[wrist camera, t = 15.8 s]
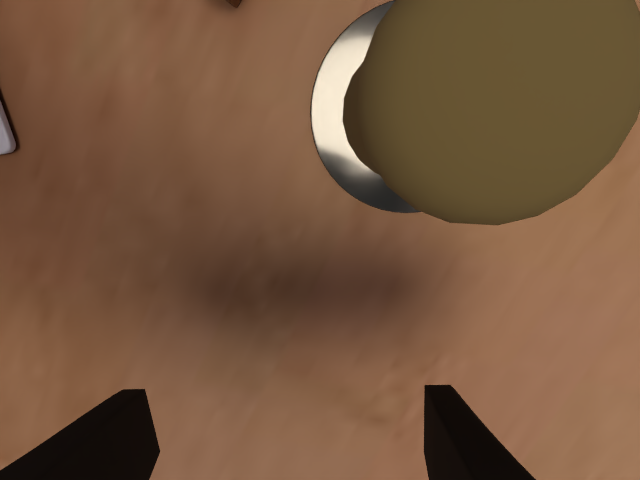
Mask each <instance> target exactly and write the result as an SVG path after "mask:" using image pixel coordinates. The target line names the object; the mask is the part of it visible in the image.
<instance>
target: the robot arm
mask: <svg viewBox="0 0 640 480" xmlns="http://www.w3.org/2000/svg"><path fill="white" fill-rule="evenodd" d="M15 147H16V143H15V139H14V137H13V134H12V131H11V128H10V126H9V123H8V120H7V117H6V115H5V112H4V109H3V106H2V104H1V101H0V154H7V153H11V152H13V151H14V150H15ZM159 453H160V449H159V445H158V441H157V437H156V432H155V428H154V424H153V420H152V416H151V412H150V408H149V404H148V400H147V396H146V392H145V389H124V390H121V391H120V392H118V393H116V394H115V395H113V396H111V397H110V398H108V399H107V400H105V401H104V402H102V403H101V404H99V405H98V406H96V407H95V408H93V409H92V410H90V411H89V412H87V413H86V414H84V415H83V416H81V417H80V418H78V419H77V420H76V421H74V422H73V423H71V424H70V425H68V426H67V427H65V428H64V429H62V430H61V431H59V432H58V433H56V434H55V435H53V436H52V437H51V438H49V439H48V440H46V441H45V442H43V443H42V444H40V445H39V446H37V447H36V448H34V449H33V450H31V451H30V452H28V453H27V454H25V455H24V456H22V457H21V458H19V459H17V460H16V461H14V462H13V463H11V464H10V465H8V466H7V467H5V468H3V469H2V470H0V480H149V478H150V476H151V474H152V471H153V468H154V466H155V463H156V461H157V458H158V456H159ZM424 455H425V460H426V466H427V471H428V477H429V480H536V479H535V478H534V477H533V476H532V475H531V474H530V473H529V472H528V471H527V470H526V469H525V468H524V467H523V466H522V465H521V464H520V463H519V462H518V461H517V460H516V459H515V458H514V457H513V456H512V455H511V453H510V452H509V451H508V450H507V449H506V448H505V447H504V446H503V445H502V444H501V443H500V442H499V441H498V439H497V438H496V437H495V436H494V435H493V434H492V433H491V432H490V431H489V429H488V428H487V427H486V426H485V425H484V424H483V423H482V421H481V420H480V419H479V418H478V417H477V416H476V414H475V413H474V412H473V411H472V410H471V409H470V407H469V406H468V405H467V404H466V402H465V401H464V400H463V399H462V398H461V396H460V395H459V394H458V393H457V391H456V390H455V389H454V388H453V387H452V386H451V385H425V399H424Z"/></svg>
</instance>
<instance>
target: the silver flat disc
mask: <svg viewBox="0 0 640 480" xmlns="http://www.w3.org/2000/svg"><path fill="white" fill-rule="evenodd" d="M395 1H396V0H393V1H389V2H387V3H384V4H382V5H380V6H377V7H375V8H373V9H372V10H370V11H368V12H366V13H365V14H363V15H362V16H360V17H359V18H358V19H356V20H355V21H354V22H353V23H351V24H350V25H349V26H348V27H347V28H346V29H345V30H344V31H343V32H342V33H341V34H340V35H339V37H338V38H337V39H336V40H335V42H334V43H333V44H332V46H331V47H330V49H329V50H328V52H327V54H326V56H325V57H324V59H323V61H322V63H321V66H320V68H319V70H318V73H317V76H316V79H315V83H314V86H313V91H312V97H311V111H310V117H311V129H312V133H313V138H314V142H315V145H316V148H317V151H318V154H319V156H320V158H321V160H322V162H323V164H324V166H325V167H326V169H327V170H328V172H329V173H330V175H331V176H332V177H333V179H334V180H335V181H336V182H337V183H338V184H339V185H340V186H341V187H342V188H343V189H344V190H345V191H347V192H348V193H349V194H350V195H352V196H353V197H355V198H356V199H358V200H359V201H361V202H363V203H365V204H367V205H370V206H372V207H375V208H378V209H381V210H386V211H391V212H399V213H415V212H421V211H418V210H416V209H414V208H413V207H412V206H411V205H409V204H408V203H407V202H406V201H405V200H403V199H402V198H401V197H400V196H399V195H397V194H396V193H395V192H394V191H392V190H391V189H390V188H389V187H388V186H387V185H386V184H385V182H384V181H383V179H382V177H381V176H380V175H379V174H376V173H374V172H373V171H372V170H371V169H369V168H368V167H367V166H366V165H364V164H363V163H362V162H361V161H360V160H359V159H358V158H357V156H356V154H355V153H354V151H353V150H352V148H351V146H350V145H349V143H348V141H347V137H346V133H345V129H344V125H343V103H344V96H345V94H346V91H347V88H348V86H349V83H350V80H351V77H352V76H353V74H354V73H355V72H356V70H357V69H358V68H359V66H360V65H361V64H362V62H363V61H364V59H365V56H366V53H367V50H368V48H369V45H370V42H371V40H372V37H373V34H374V31H375V29H376V26H377V25H378V24H379V22H380V21H381V20H382V18H383V17H384V16H385V14H386V13H387V12H388V10H389V9H390V7H391V6H392V5H393V3H394V2H395Z"/></svg>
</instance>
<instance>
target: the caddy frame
mask: <svg viewBox="0 0 640 480" xmlns="http://www.w3.org/2000/svg"><path fill="white" fill-rule="evenodd" d="M227 1H228V2H229V3H230V4H232V5H233V6H234V7H236V8H237V6H238V5H239V3H240V1H241V0H227Z"/></svg>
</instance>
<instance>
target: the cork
mask: <svg viewBox="0 0 640 480" xmlns="http://www.w3.org/2000/svg"><path fill="white" fill-rule="evenodd" d="M639 110H640V12H639V10H638V7H637V5H636V2H635V0H396V1H395V2H394V3H393V5H392V6H391V7H390V9H389V10H388V12H387V13H386V14H385V16H384V17H383V18H382V20H381V21H380V22H379V24H378V25H377V26H376V29H375V31H374V34H373V37H372V40H371V42H370V45H369V48H368V50H367V53H366V56H365V59H364V61H363V62H362V64H361V65H360V66H359V68H358V69H357V70H356V72H355V73H354V74H353V76H352V77H351V80H350V83H349V86H348V88H347V91H346V94H345V96H344V103H343V125H344V129H345V133H346V137H347V141H348V143H349V145H350V146H351V148H352V150H353V151H354V153H355V154H356V156H357V158H358V159H359V160H360V161H361V162H362V163H363V164H364V165H366V166H367V167H368V168H369V169H371V170H372V171H373V172H374V173H376V174H379V175H380V176H381V177H382V179H383V181H384V182H385V184H386V185H387V186H388V187H389V188H390V189H391V190H392V191H394V192H395V193H396V194H397V195H399V196H400V197H401V198H402V199H403V200H405V201H406V202H407V203H408V204H409V205H411V206H412V207H413V208H414V209H416V210H418V211H421V212H424V213H426V214H429V215H431V216H434V217H437V218H439V219H442V220H444V221H447V222H450V223H467V224H484V225H501V224H505V223H509V222H513V221H518V220H522V219H526V218H530V217H535V216H538V215H540V214H542V213H544V212H545V211H547V210H549V209H551V208H553V207H554V206H556V205H558V204H560V203H562V202H564V201H565V200H567V199H569V198H571V197H573V196H574V195H576V194H577V193H578V192H579V191H580V190H581V189H582V188H583V187H584V186H585V185H586V184H587V183H589V182H590V181H591V180H592V179H593V178H594V177H595V176H596V175H597V174H598V173H599V172H600V171H601V170H602V169H603V168H604V167H605V166H606V165H607V164H608V163H609V162H610V161H611V160H612V159H613V158H614V156H615V155H616V153H617V151H618V150H619V148H620V147H621V145H622V143H623V142H624V140H625V138H626V137H627V135H628V133H629V132H630V130H631V128H632V127H633V125H634V123H635V122H636V120H637V117H638V114H639Z"/></svg>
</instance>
